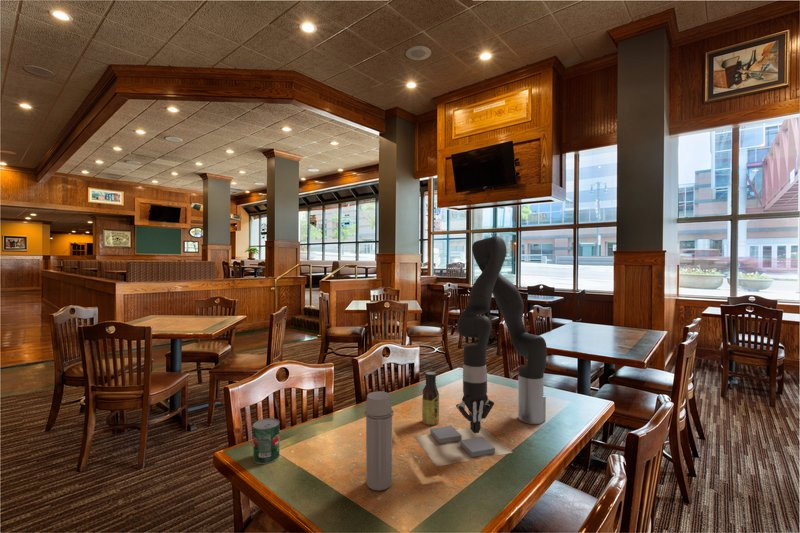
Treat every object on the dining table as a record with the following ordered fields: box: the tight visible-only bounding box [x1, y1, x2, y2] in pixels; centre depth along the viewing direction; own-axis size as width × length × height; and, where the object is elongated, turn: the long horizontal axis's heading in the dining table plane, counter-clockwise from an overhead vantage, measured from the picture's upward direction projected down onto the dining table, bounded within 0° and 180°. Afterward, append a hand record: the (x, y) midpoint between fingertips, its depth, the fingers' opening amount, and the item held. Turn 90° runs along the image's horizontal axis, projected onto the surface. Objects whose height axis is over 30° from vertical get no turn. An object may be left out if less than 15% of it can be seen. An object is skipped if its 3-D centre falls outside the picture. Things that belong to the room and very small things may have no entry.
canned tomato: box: [252, 417, 281, 465], centre depth 121 cm, size 8×8×11 cm
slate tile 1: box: [429, 425, 462, 444], centre depth 131 cm, size 2×8×8 cm
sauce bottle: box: [421, 371, 440, 427], centre depth 143 cm, size 7×6×20 cm
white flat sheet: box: [413, 426, 514, 467], centre depth 126 cm, size 26×20×2 cm
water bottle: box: [364, 390, 395, 492], centre depth 105 cm, size 9×8×25 cm
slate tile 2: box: [460, 437, 495, 457], centre depth 122 cm, size 2×8×8 cm
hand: (475, 432), depth 122 cm, fingers closed
